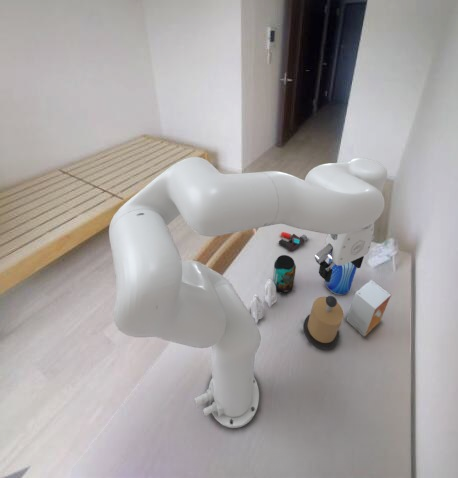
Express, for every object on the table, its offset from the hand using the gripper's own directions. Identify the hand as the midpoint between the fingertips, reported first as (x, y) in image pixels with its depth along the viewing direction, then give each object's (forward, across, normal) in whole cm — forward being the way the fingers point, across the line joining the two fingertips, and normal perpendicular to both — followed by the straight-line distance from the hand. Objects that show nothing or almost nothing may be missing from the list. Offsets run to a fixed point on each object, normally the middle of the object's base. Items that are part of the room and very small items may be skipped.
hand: (339, 270), depth 66 cm
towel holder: (+19, 0, -4) cm, 20 cm away
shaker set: (+28, -10, +15) cm, 34 cm away
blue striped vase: (+28, +16, +11) cm, 34 cm away
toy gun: (+28, +16, +36) cm, 48 cm away
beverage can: (+28, 0, +19) cm, 34 cm away
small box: (+28, +14, -2) cm, 31 cm away
